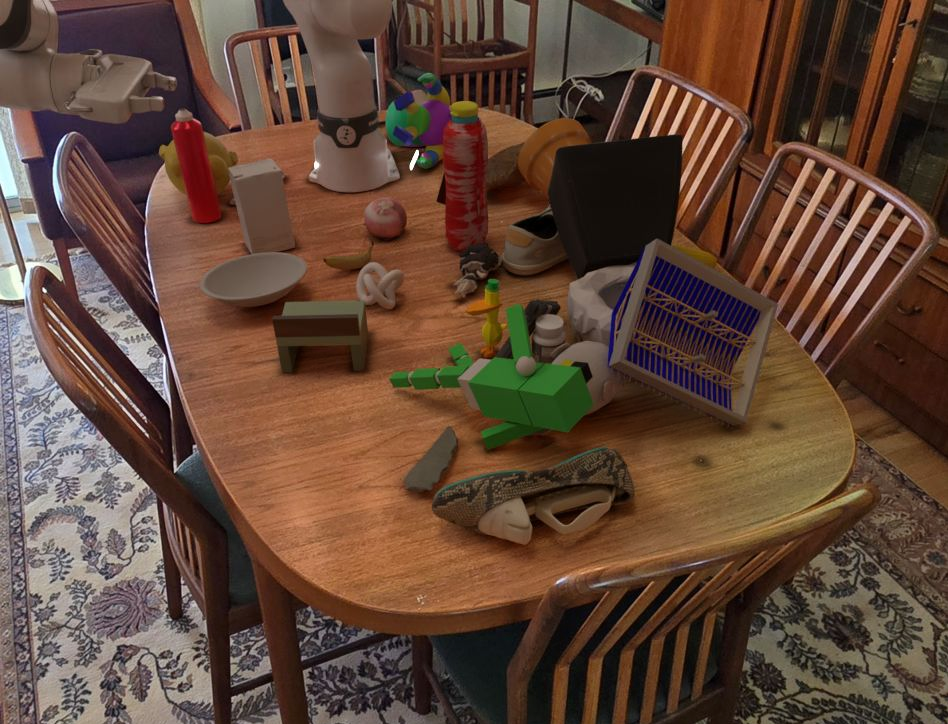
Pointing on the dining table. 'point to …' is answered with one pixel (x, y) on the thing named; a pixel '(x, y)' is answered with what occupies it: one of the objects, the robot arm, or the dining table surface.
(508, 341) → the handgun
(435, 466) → the stone
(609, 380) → the toy
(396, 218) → the onion
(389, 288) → the knot
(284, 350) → the shelf
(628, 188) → the flower pot
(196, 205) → the bottle
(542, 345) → the pill bottle
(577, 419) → the toy
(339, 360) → the dining table surface
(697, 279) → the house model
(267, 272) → the dish
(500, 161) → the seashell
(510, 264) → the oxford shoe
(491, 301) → the toy figure
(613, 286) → the bowl
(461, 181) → the water bottle
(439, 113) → the figurine
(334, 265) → the banana
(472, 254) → the figurine
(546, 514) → the ballet flat
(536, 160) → the flower pot
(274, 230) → the cosmetic box
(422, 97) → the ice cream cone
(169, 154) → the sculpture
